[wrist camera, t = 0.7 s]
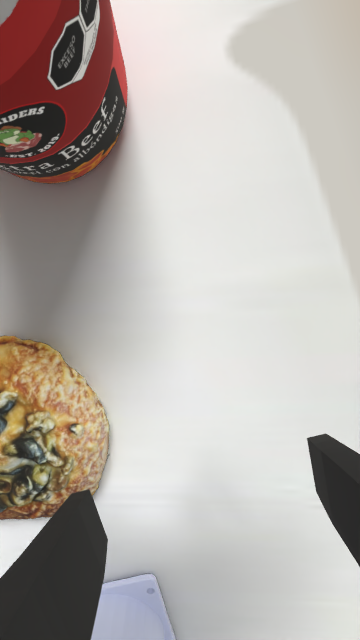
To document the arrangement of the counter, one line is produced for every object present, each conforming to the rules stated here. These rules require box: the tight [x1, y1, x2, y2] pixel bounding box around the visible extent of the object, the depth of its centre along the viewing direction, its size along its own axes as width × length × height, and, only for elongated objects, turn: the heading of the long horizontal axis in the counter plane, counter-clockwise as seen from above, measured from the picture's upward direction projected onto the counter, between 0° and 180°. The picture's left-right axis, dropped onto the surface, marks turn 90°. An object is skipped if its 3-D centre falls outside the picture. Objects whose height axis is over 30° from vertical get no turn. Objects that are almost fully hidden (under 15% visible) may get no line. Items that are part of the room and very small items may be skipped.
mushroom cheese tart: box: [0, 336, 109, 520], centre depth 17 cm, size 11×11×5 cm
